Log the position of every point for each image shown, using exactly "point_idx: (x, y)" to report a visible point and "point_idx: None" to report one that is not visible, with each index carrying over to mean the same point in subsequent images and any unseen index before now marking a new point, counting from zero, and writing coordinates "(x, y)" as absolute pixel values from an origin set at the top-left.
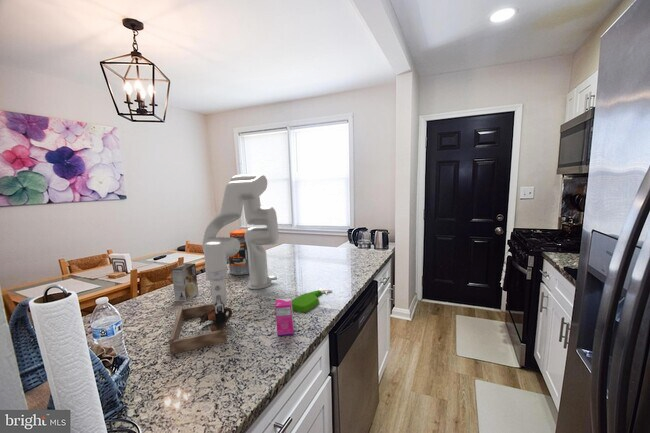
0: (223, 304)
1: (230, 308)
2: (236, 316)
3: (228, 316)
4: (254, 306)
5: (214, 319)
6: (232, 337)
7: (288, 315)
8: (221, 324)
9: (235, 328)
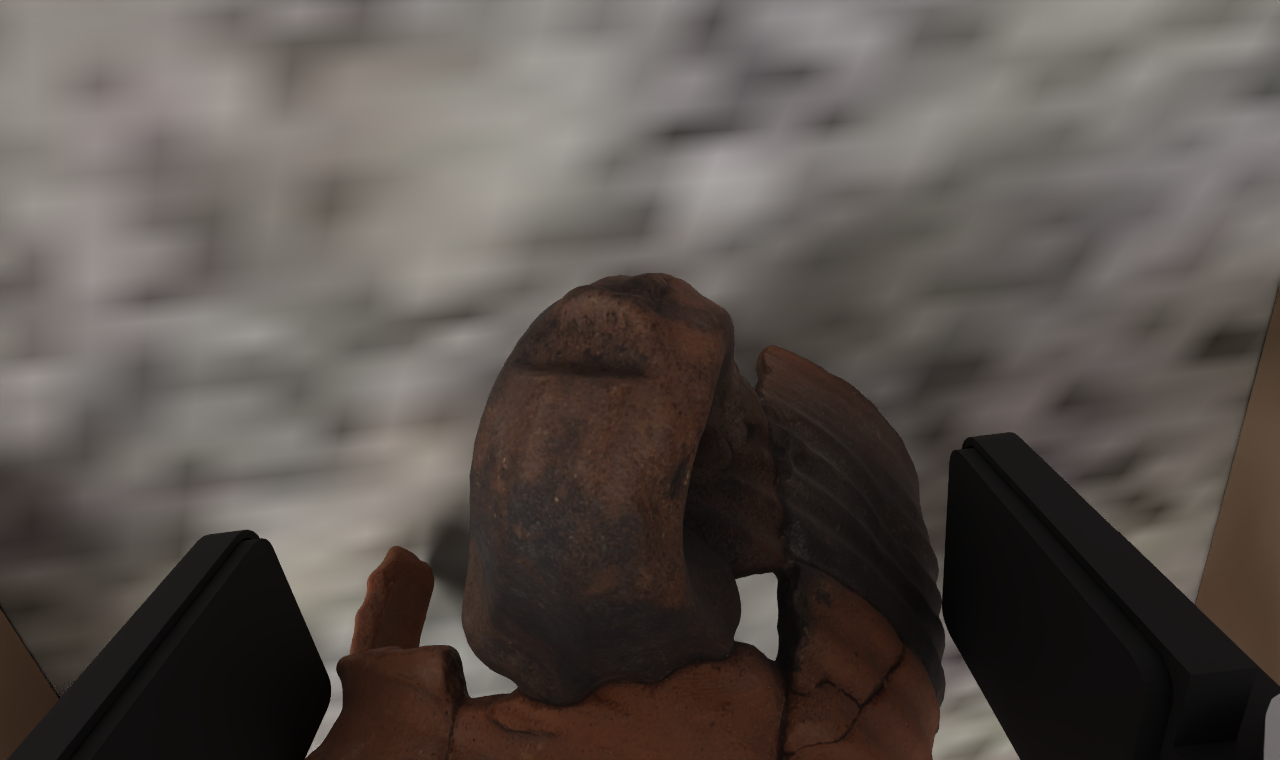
0: (110, 700)
1: (546, 405)
2: (235, 139)
3: (725, 374)
4: None
5: (934, 717)
6: (1272, 163)
7: None
8: (875, 474)
9: (894, 121)
